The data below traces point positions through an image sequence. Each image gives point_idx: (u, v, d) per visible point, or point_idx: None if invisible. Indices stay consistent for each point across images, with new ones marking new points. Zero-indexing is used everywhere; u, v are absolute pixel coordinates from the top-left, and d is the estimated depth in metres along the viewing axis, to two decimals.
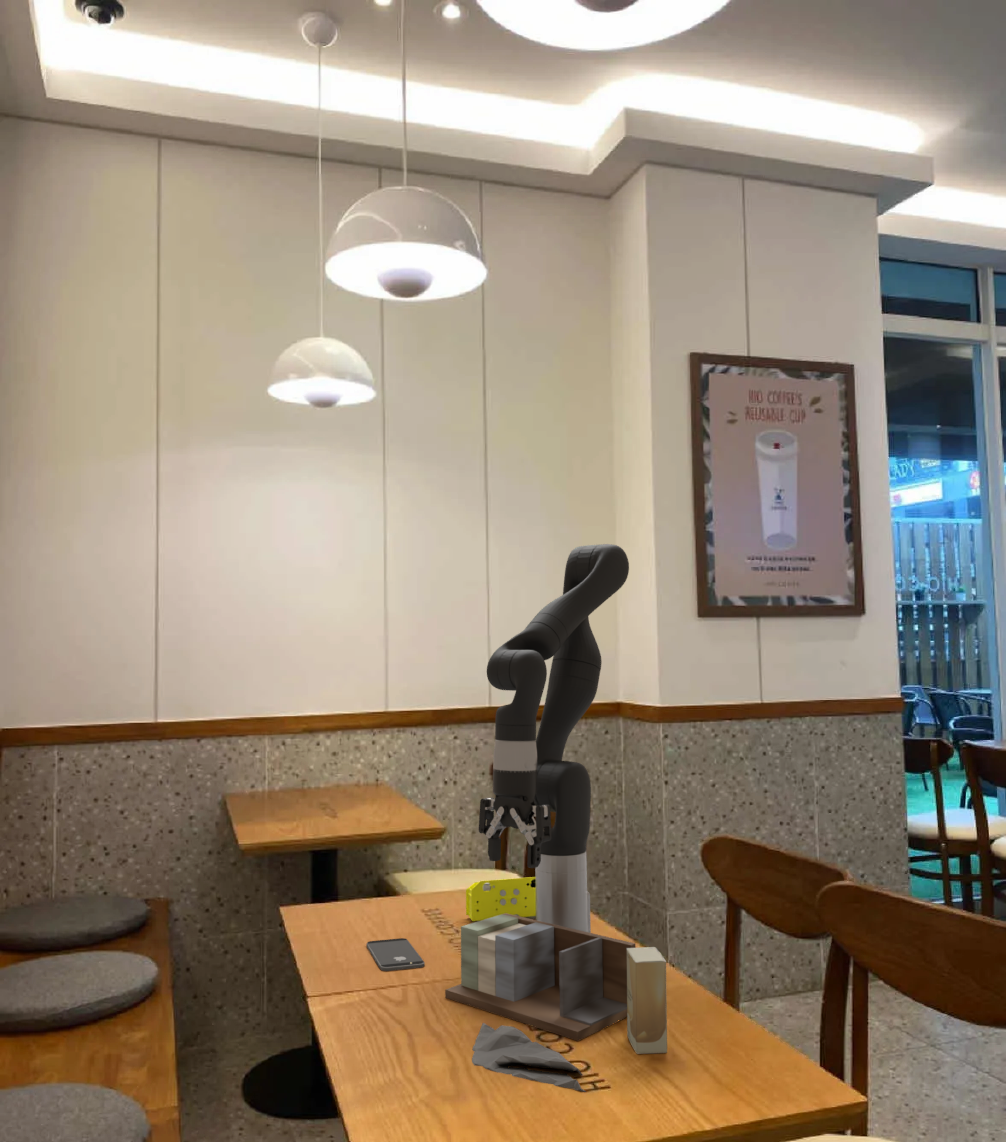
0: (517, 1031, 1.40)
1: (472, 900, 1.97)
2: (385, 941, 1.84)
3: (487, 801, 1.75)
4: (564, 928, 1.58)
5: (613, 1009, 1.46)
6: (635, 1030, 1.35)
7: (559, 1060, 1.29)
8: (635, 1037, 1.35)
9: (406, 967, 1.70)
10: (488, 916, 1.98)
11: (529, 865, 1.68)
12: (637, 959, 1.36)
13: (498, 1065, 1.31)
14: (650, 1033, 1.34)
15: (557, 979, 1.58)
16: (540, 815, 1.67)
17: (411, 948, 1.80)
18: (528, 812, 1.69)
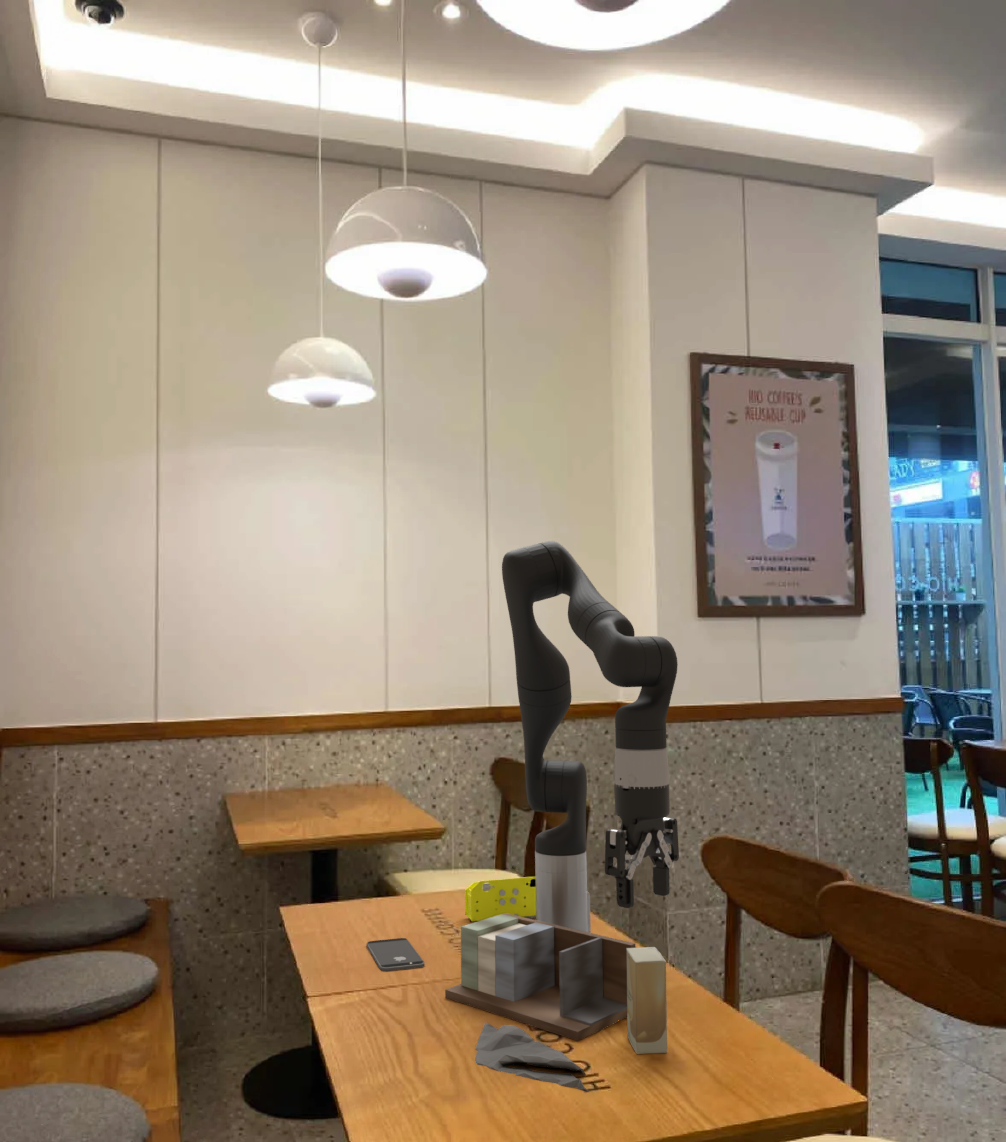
0: (520, 1030, 1.40)
1: (472, 900, 1.97)
2: (385, 941, 1.84)
3: None
4: (564, 928, 1.58)
5: (613, 1009, 1.46)
6: (635, 1030, 1.35)
7: (562, 1060, 1.29)
8: (635, 1037, 1.35)
9: (406, 967, 1.70)
10: (488, 916, 1.98)
11: (668, 892, 1.41)
12: (637, 959, 1.36)
13: (501, 1065, 1.31)
14: (650, 1033, 1.34)
15: (557, 979, 1.58)
16: (676, 829, 1.43)
17: (411, 948, 1.80)
18: (663, 830, 1.41)
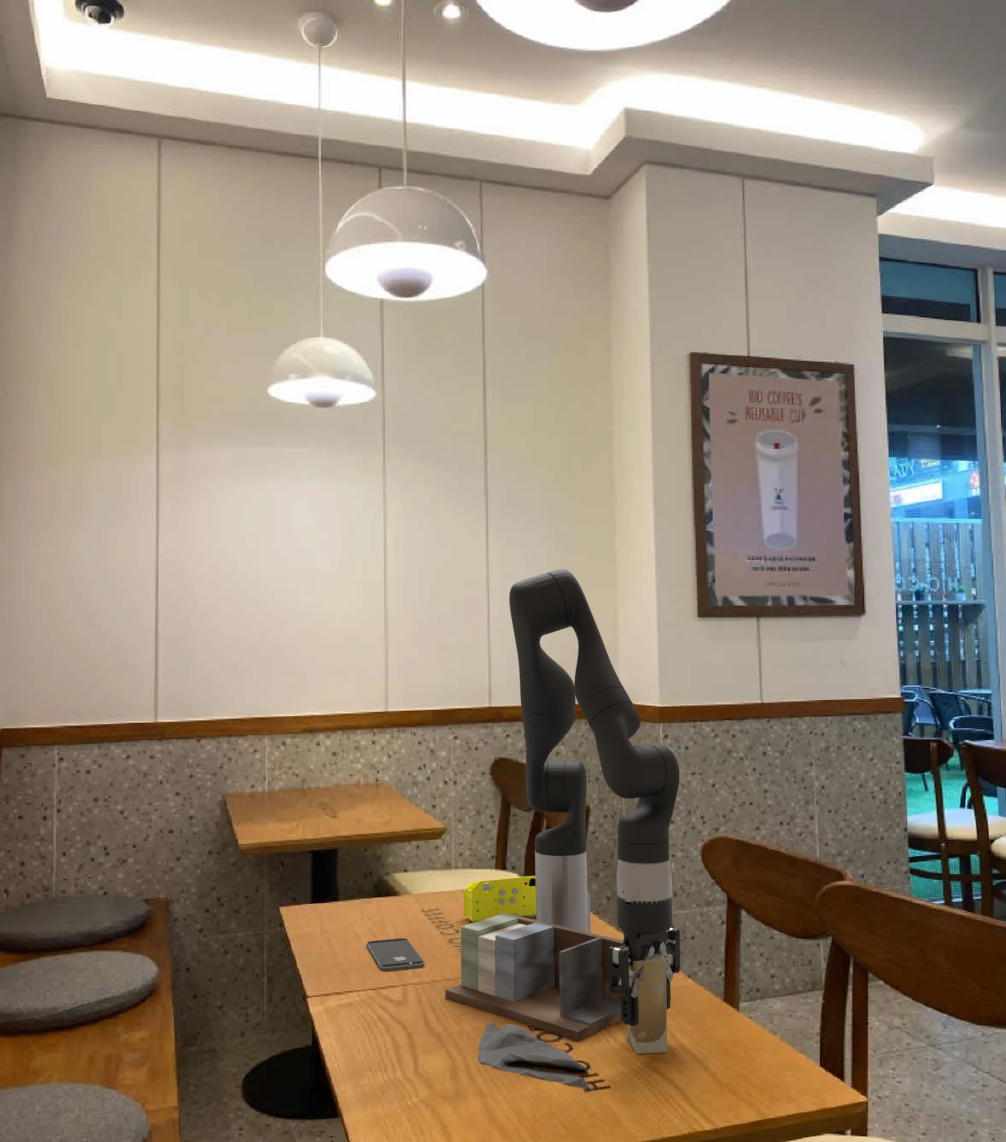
0: (523, 1030, 1.40)
1: (472, 900, 1.97)
2: (385, 941, 1.84)
3: None
4: (564, 928, 1.58)
5: (613, 1009, 1.46)
6: (635, 1030, 1.35)
7: (566, 1059, 1.29)
8: (635, 1037, 1.35)
9: (406, 967, 1.70)
10: (488, 916, 1.98)
11: (669, 1006, 1.40)
12: None
13: (505, 1063, 1.31)
14: (650, 1033, 1.34)
15: (557, 979, 1.58)
16: (679, 940, 1.42)
17: (411, 948, 1.80)
18: (666, 941, 1.40)
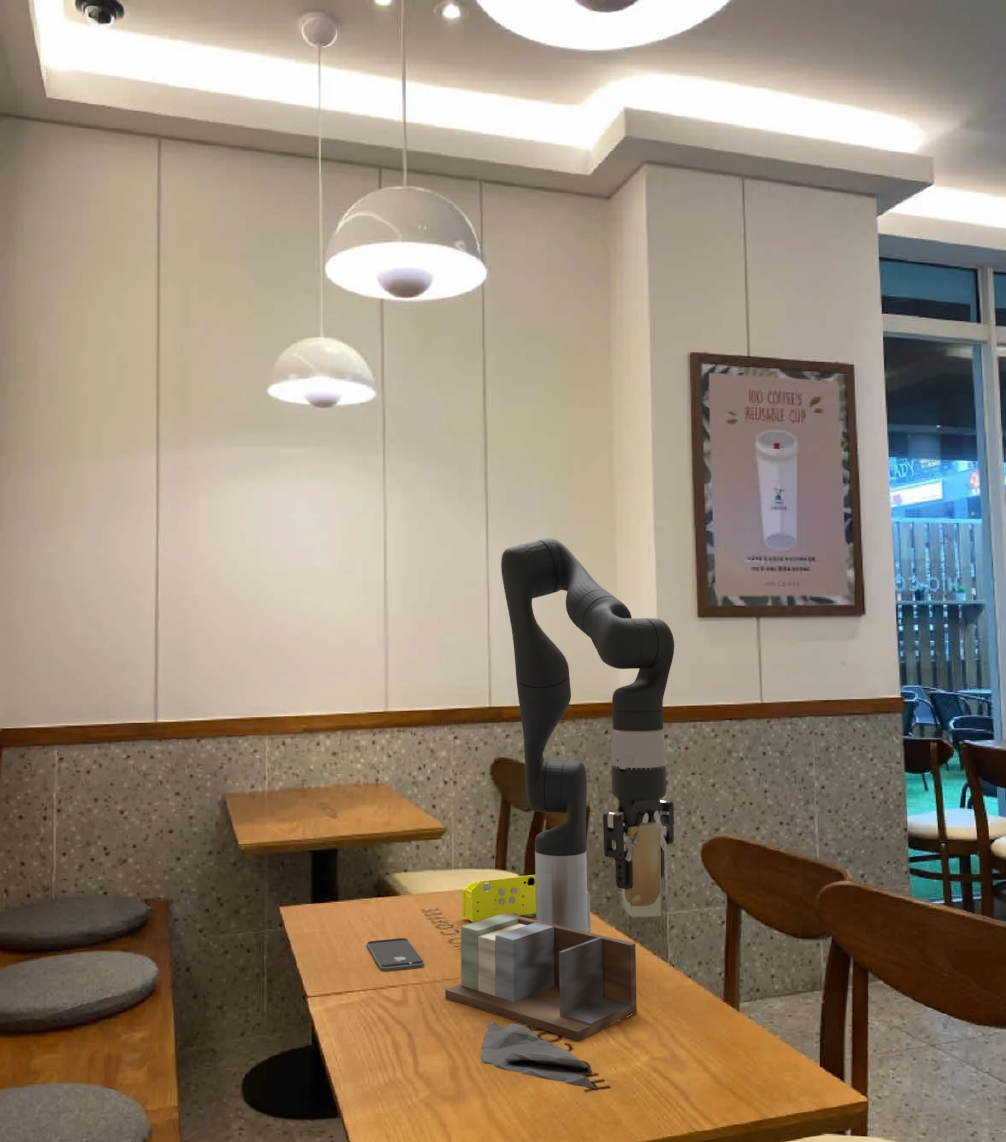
0: (525, 1029, 1.41)
1: (472, 901, 1.97)
2: (385, 941, 1.84)
3: None
4: (564, 928, 1.58)
5: (613, 1009, 1.46)
6: (630, 894, 1.37)
7: (569, 1058, 1.30)
8: (630, 901, 1.37)
9: (406, 967, 1.70)
10: (488, 916, 1.98)
11: (663, 875, 1.42)
12: None
13: (508, 1062, 1.31)
14: (644, 897, 1.36)
15: (557, 979, 1.58)
16: (672, 812, 1.44)
17: (411, 948, 1.80)
18: (660, 811, 1.42)
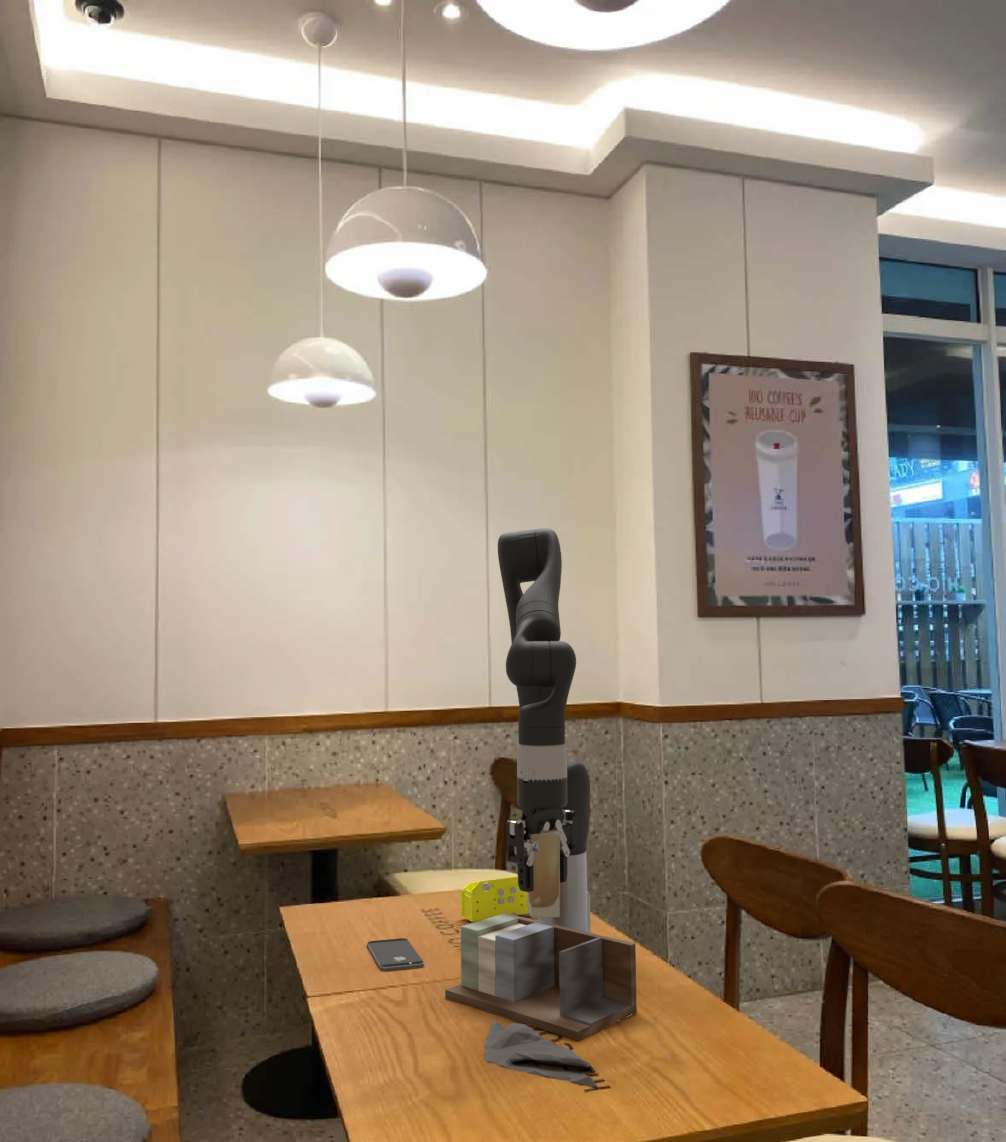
0: (528, 1028, 1.41)
1: (472, 901, 1.97)
2: (385, 941, 1.84)
3: None
4: (564, 928, 1.58)
5: (613, 1009, 1.46)
6: (531, 896, 1.48)
7: (572, 1057, 1.30)
8: (531, 903, 1.48)
9: (405, 967, 1.70)
10: (487, 916, 1.98)
11: (565, 879, 1.53)
12: None
13: (511, 1062, 1.31)
14: (544, 899, 1.48)
15: (557, 979, 1.58)
16: (576, 821, 1.55)
17: (411, 948, 1.80)
18: (563, 820, 1.54)
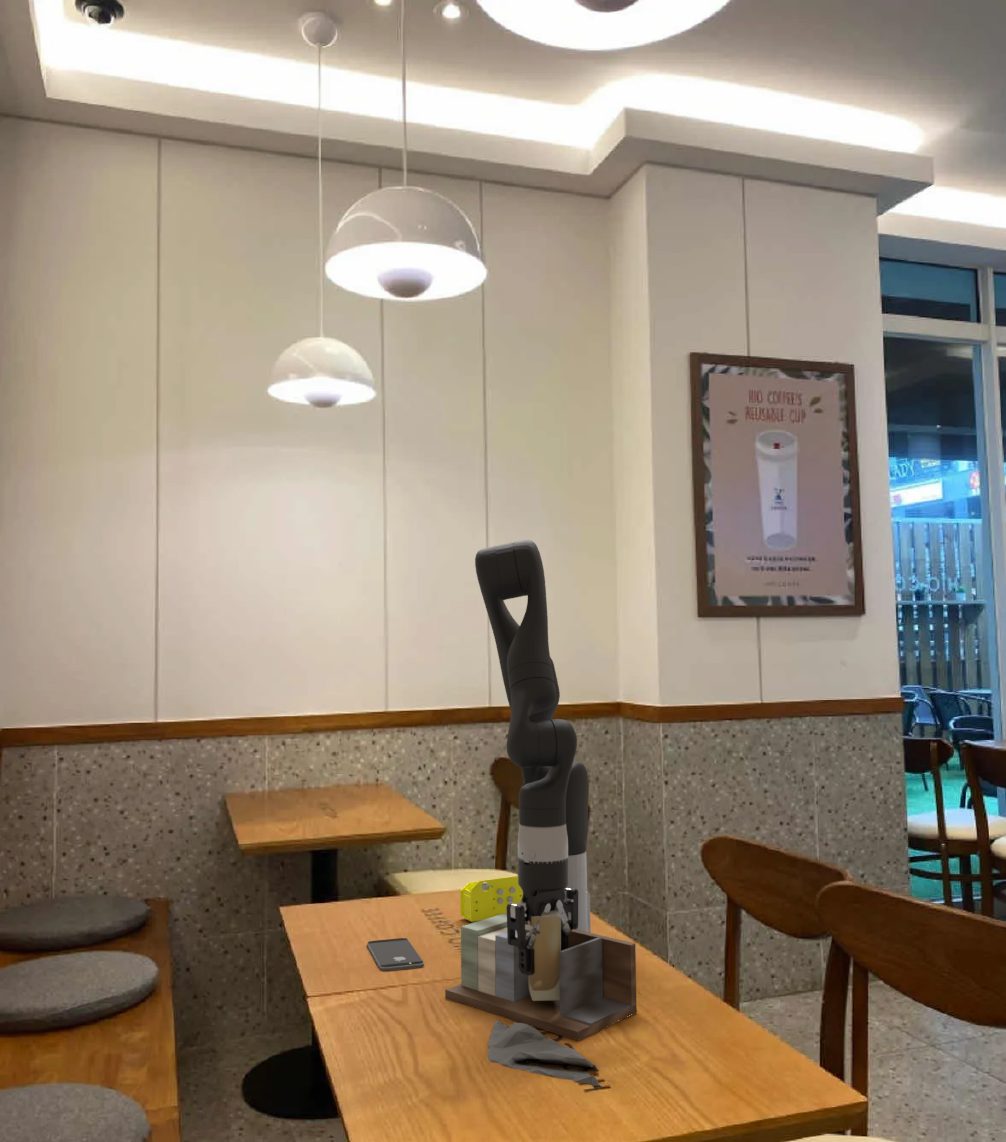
0: (531, 1028, 1.41)
1: (471, 900, 1.97)
2: (385, 941, 1.84)
3: None
4: None
5: (613, 1009, 1.46)
6: (532, 979, 1.47)
7: (575, 1056, 1.30)
8: (532, 986, 1.47)
9: (405, 967, 1.70)
10: (486, 915, 1.98)
11: None
12: None
13: (515, 1061, 1.32)
14: (545, 982, 1.47)
15: None
16: (577, 899, 1.55)
17: (411, 948, 1.80)
18: (564, 899, 1.53)
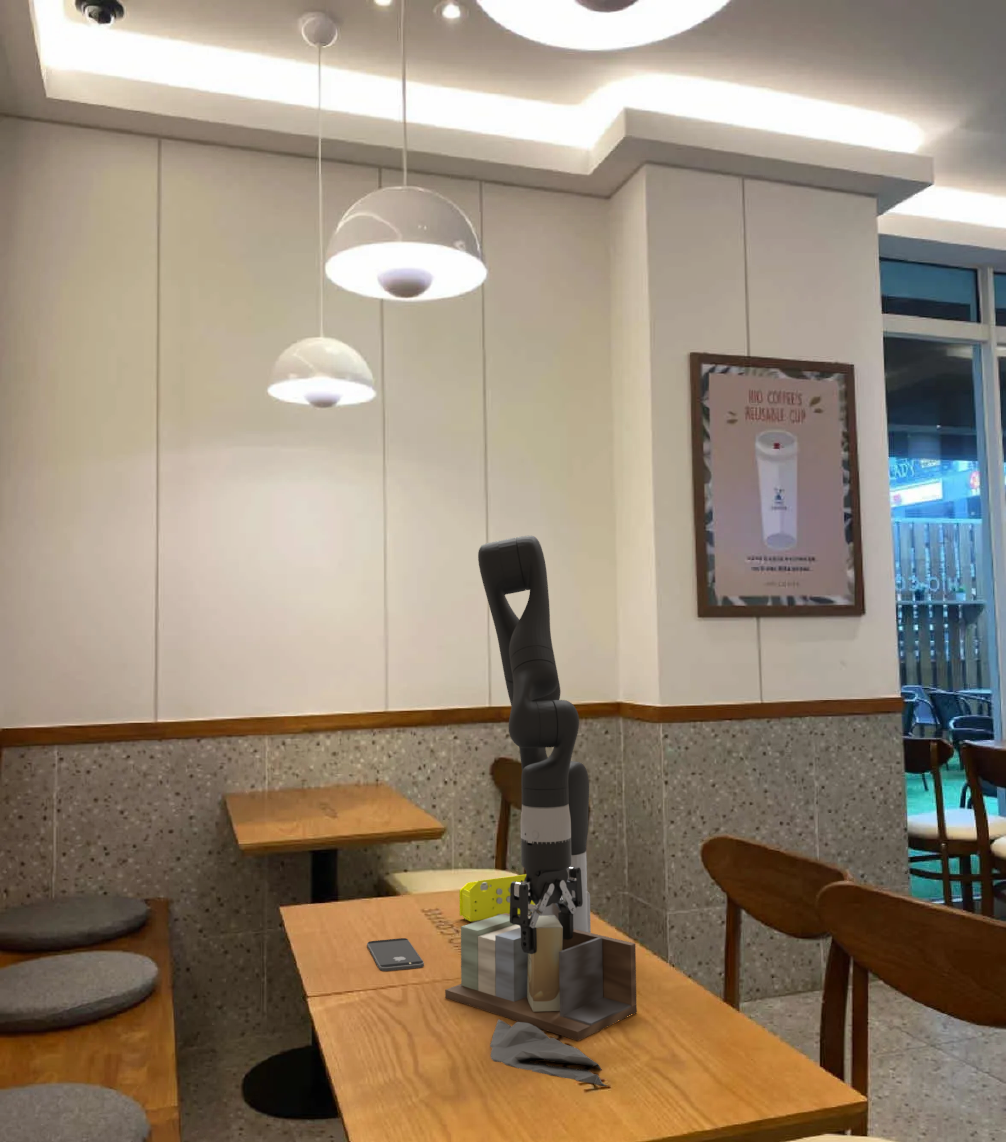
0: (534, 1027, 1.41)
1: (470, 900, 1.97)
2: (386, 941, 1.84)
3: None
4: None
5: (613, 1009, 1.46)
6: (532, 990, 1.47)
7: (579, 1055, 1.30)
8: (532, 996, 1.47)
9: (405, 967, 1.70)
10: (485, 915, 1.98)
11: (571, 936, 1.53)
12: (537, 925, 1.48)
13: (518, 1061, 1.32)
14: (546, 992, 1.47)
15: None
16: (580, 877, 1.55)
17: (411, 948, 1.80)
18: (567, 879, 1.53)
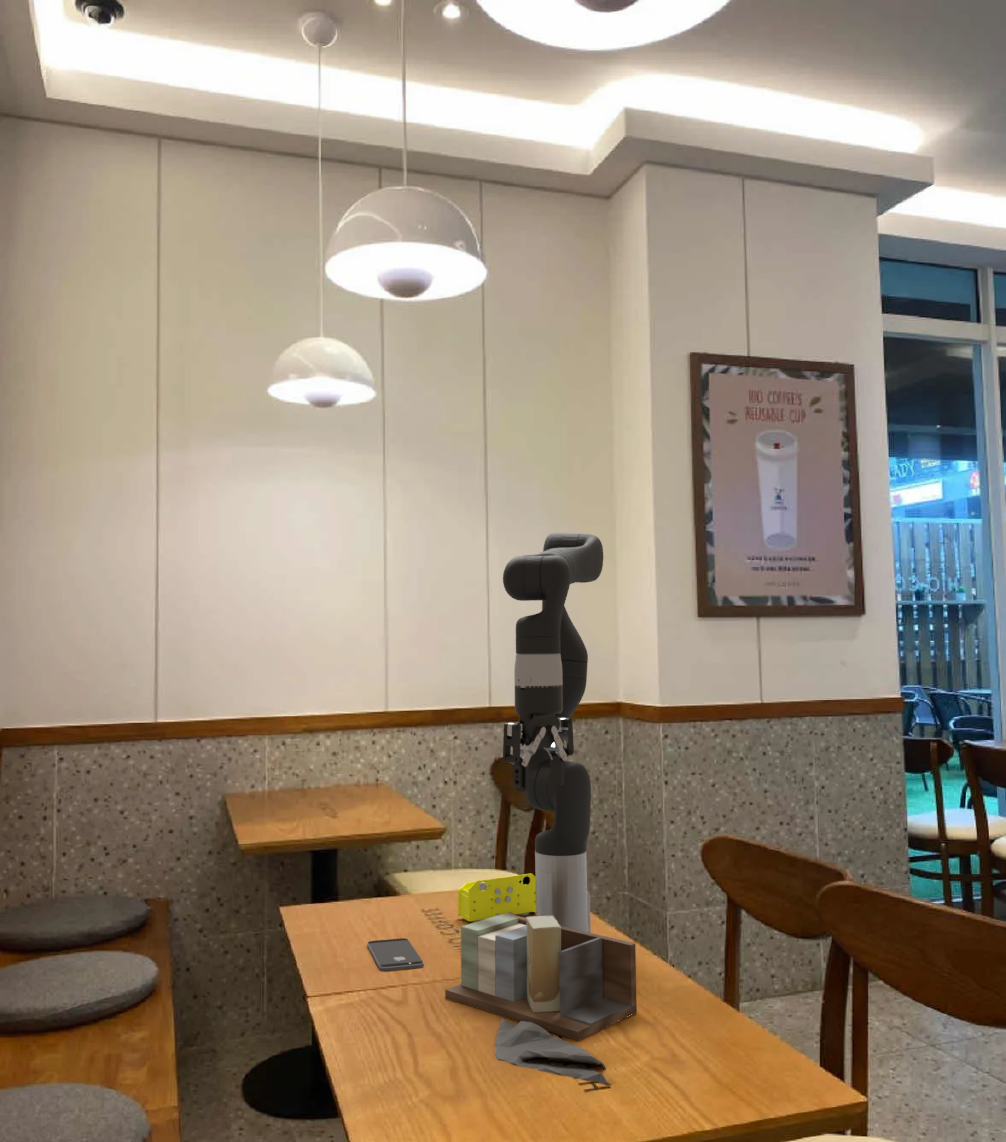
0: (537, 1026, 1.41)
1: (469, 900, 1.97)
2: (386, 941, 1.84)
3: None
4: (564, 928, 1.58)
5: (613, 1009, 1.46)
6: (532, 991, 1.47)
7: (583, 1054, 1.31)
8: (532, 997, 1.47)
9: (405, 967, 1.70)
10: (484, 915, 1.99)
11: (562, 782, 1.60)
12: (535, 925, 1.48)
13: (522, 1060, 1.32)
14: (546, 993, 1.47)
15: None
16: (571, 727, 1.62)
17: (411, 948, 1.80)
18: (559, 727, 1.60)
